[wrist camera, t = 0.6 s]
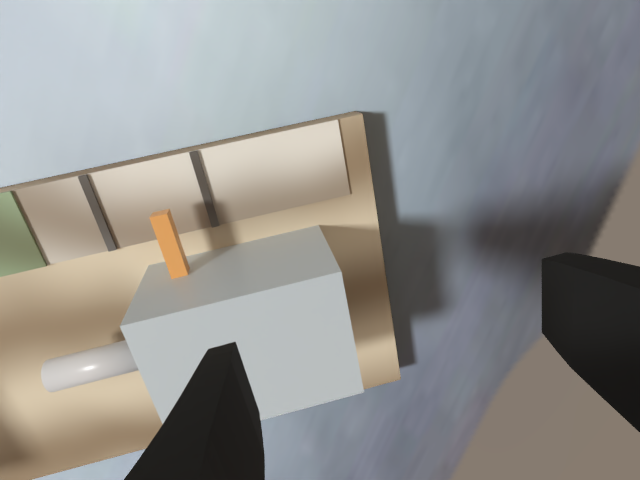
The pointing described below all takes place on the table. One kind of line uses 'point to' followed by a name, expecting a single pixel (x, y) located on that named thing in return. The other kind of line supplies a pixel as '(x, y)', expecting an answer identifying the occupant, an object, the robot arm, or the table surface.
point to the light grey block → (232, 323)
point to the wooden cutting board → (143, 250)
